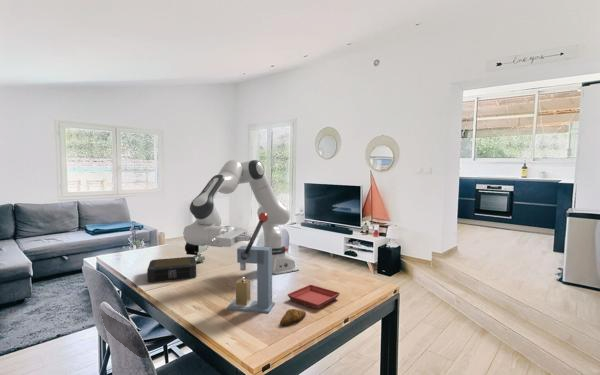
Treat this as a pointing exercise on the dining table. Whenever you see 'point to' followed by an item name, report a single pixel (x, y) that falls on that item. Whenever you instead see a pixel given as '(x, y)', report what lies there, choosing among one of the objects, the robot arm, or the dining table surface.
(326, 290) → the plant saucer
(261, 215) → the lever
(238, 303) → the block
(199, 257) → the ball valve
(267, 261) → the press
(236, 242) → the robot arm
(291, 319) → the croissant
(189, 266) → the cash box
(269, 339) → the dining table surface
